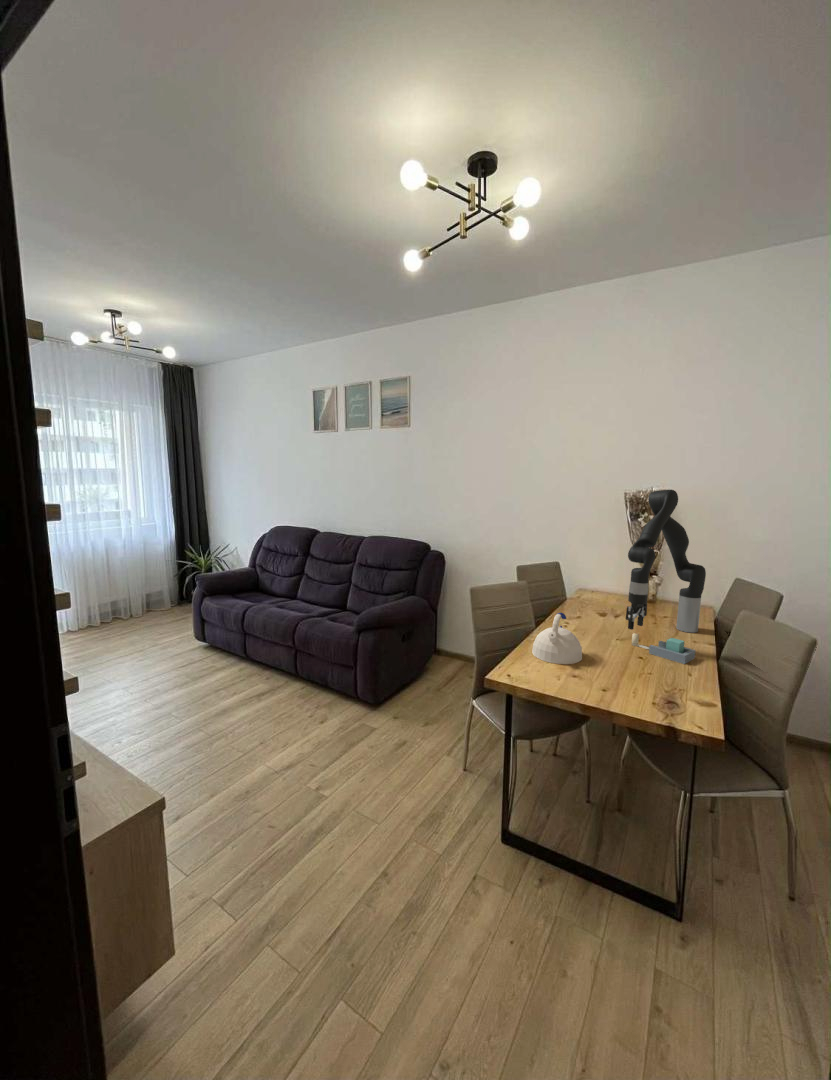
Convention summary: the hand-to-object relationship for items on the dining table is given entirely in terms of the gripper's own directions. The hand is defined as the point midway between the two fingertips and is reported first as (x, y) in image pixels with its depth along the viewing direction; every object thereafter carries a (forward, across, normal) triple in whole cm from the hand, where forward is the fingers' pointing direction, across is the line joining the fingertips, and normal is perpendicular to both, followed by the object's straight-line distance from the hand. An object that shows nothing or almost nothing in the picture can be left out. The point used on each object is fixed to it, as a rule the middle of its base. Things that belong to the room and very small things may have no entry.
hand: (635, 627), depth 199 cm
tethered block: (+8, 0, +9) cm, 12 cm away
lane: (+8, 0, +16) cm, 18 cm away
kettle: (+9, +38, -14) cm, 41 cm away
